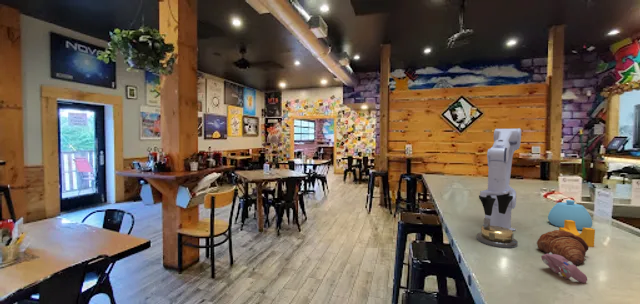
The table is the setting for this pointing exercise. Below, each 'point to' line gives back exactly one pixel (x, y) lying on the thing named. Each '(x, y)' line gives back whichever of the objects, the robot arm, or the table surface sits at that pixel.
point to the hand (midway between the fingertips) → (495, 214)
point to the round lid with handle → (496, 232)
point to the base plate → (497, 244)
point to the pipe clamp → (586, 233)
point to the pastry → (564, 245)
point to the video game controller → (563, 267)
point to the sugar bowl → (570, 215)
